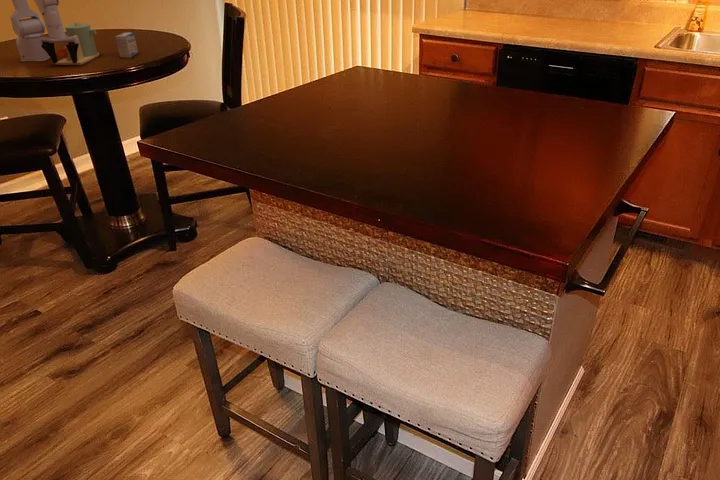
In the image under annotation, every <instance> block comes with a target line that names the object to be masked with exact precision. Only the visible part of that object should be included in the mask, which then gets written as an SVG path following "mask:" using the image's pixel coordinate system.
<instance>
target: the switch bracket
mask: <svg viewBox="0 0 720 480" xmlns="http://www.w3.org/2000/svg"><path fill="white" fill-rule="evenodd" d="M65 35H66V36H67V34H65ZM72 37H78V35H75V36H72ZM65 45H66V43H60V46H61V49H63V48H64V46H65ZM67 53H68V56H67V58H65V59H63V58H61V59H60V60H58V62H57V63H54V65H55V66H57V65H58V66H59V65H60V66H61V65H66V66H68V65H69V66H70V65H71V66H72V65H74V66H75V65H77V66H78V65H79V66H81V65H84V64H85V63H87V62H89V61H92V60H94V59H95V58H96V57H95V56H87V57H84V56H83V53H82V49H81V46H80V42H79V46H78V50H77V63H73V62H72V59H71V56H70V53H69V51H68V50H67Z"/></svg>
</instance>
